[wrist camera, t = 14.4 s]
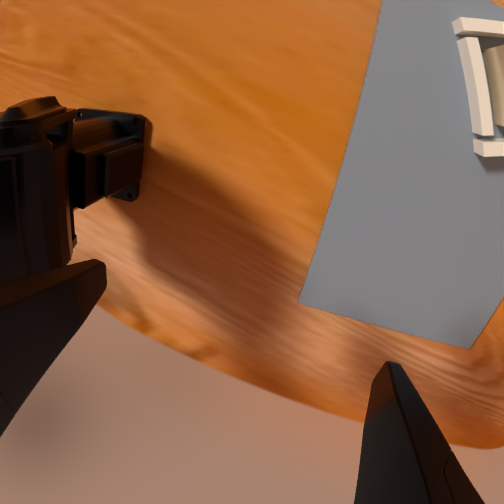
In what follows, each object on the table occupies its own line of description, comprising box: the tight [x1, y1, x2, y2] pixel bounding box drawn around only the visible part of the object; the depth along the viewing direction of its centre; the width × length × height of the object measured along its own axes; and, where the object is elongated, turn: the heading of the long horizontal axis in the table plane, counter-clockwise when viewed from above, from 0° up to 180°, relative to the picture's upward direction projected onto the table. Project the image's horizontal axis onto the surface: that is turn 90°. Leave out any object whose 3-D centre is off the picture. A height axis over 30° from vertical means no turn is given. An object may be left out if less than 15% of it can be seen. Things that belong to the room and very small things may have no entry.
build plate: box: [298, 0, 504, 349], centre depth 16 cm, size 15×24×1 cm, turn 168°
